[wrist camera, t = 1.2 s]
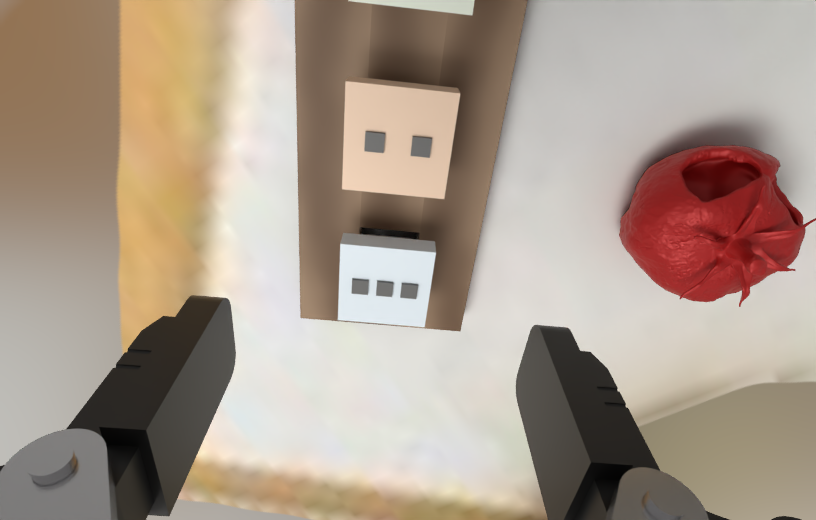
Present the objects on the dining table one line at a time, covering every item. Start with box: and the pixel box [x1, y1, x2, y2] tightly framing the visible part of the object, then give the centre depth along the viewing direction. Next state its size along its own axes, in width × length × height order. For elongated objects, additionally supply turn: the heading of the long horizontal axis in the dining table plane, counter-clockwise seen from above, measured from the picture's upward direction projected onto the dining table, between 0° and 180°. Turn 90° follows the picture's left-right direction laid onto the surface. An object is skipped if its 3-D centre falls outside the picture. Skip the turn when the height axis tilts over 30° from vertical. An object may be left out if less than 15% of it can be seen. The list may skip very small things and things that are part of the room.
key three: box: [338, 233, 436, 327], centre depth 30 cm, size 6×6×4 cm
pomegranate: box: [619, 145, 816, 307], centre depth 29 cm, size 10×10×9 cm
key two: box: [342, 76, 460, 199], centre depth 26 cm, size 6×6×4 cm
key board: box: [295, 0, 528, 331], centre depth 29 cm, size 12×30×2 cm, turn 174°
